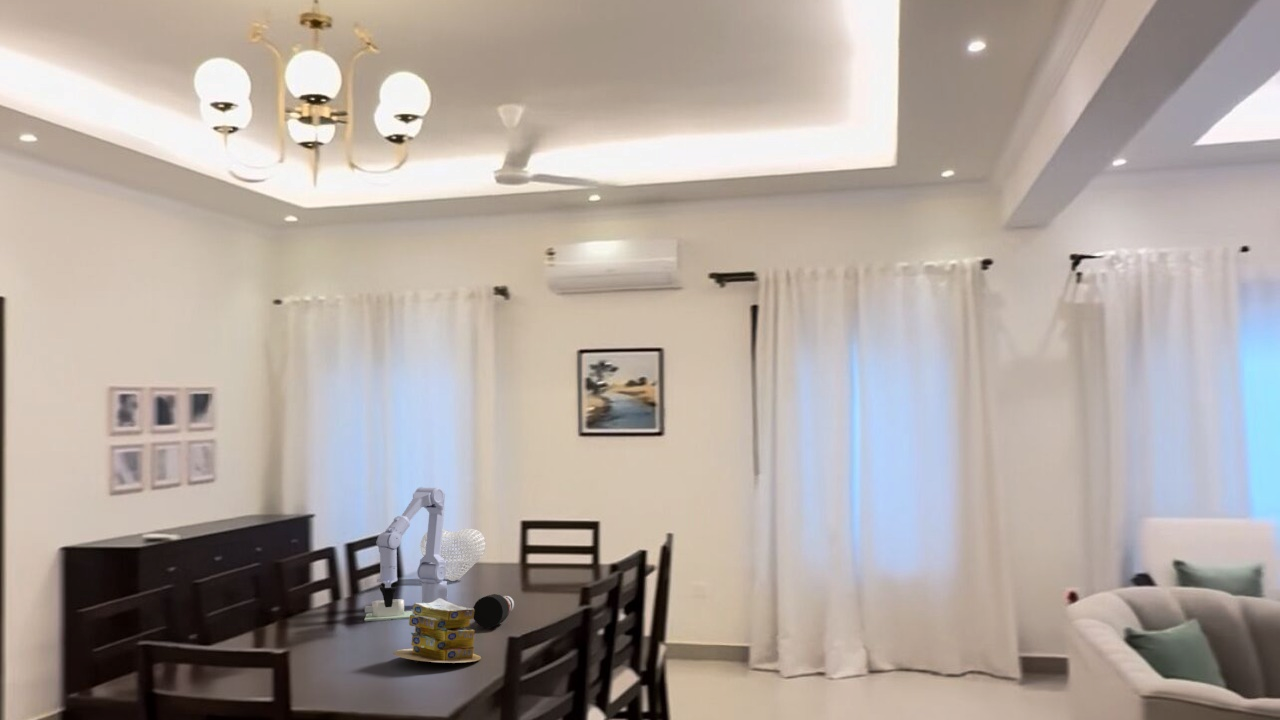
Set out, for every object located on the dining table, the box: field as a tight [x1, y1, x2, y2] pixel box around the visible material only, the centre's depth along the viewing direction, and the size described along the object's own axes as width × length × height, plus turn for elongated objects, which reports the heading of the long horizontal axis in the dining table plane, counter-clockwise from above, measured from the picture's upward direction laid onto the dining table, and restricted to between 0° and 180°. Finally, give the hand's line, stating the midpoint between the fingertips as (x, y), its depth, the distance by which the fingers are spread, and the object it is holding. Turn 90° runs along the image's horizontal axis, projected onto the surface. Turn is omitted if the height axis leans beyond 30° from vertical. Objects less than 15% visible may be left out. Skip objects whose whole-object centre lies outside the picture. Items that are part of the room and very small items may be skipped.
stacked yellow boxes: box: [392, 598, 482, 664], centre depth 280 cm, size 25×25×17 cm
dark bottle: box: [472, 593, 515, 629], centre depth 336 cm, size 10×34×10 cm, turn 173°
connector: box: [364, 598, 405, 617], centre depth 343 cm, size 13×4×5 cm, turn 102°
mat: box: [364, 610, 413, 622], centre depth 343 cm, size 16×10×1 cm, turn 102°
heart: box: [420, 528, 487, 582], centre depth 416 cm, size 28×16×22 cm, turn 84°
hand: (388, 604), depth 344 cm, fingers open, 7 cm apart
